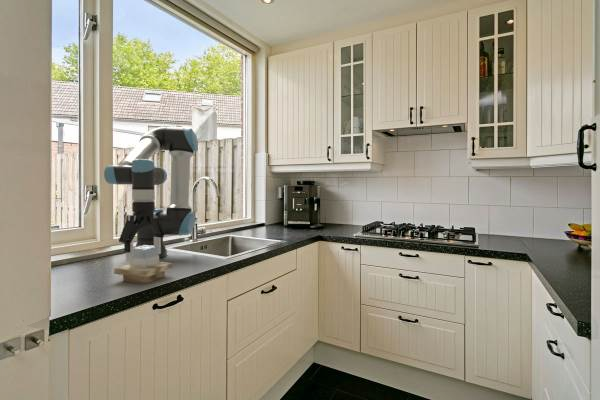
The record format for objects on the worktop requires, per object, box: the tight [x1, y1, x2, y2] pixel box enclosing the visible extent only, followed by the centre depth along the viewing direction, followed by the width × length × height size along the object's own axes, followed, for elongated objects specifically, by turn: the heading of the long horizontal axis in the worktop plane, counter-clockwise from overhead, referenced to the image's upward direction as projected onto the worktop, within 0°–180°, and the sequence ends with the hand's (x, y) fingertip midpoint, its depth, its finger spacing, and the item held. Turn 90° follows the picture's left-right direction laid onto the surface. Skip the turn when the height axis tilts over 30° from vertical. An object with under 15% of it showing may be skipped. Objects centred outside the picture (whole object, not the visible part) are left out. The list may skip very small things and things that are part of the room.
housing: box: [129, 245, 160, 269], centre depth 123 cm, size 9×7×7 cm
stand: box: [113, 261, 173, 285], centre depth 123 cm, size 14×14×5 cm
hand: (144, 257), depth 123 cm, fingers open, 13 cm apart
